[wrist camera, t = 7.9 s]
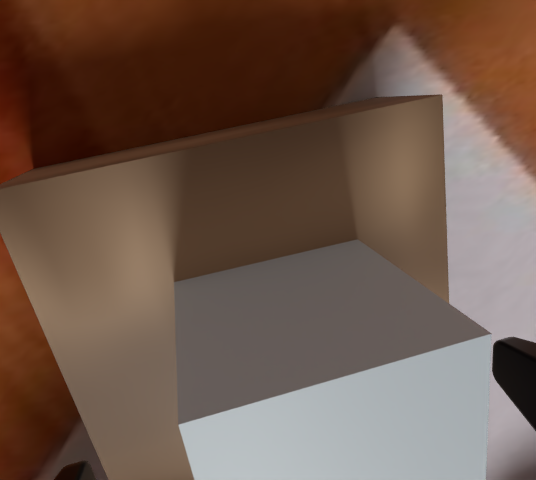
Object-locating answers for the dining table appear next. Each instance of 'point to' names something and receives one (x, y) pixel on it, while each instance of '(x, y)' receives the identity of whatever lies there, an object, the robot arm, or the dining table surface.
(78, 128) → the dining table surface
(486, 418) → the grey cube
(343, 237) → the brown boxy piece
